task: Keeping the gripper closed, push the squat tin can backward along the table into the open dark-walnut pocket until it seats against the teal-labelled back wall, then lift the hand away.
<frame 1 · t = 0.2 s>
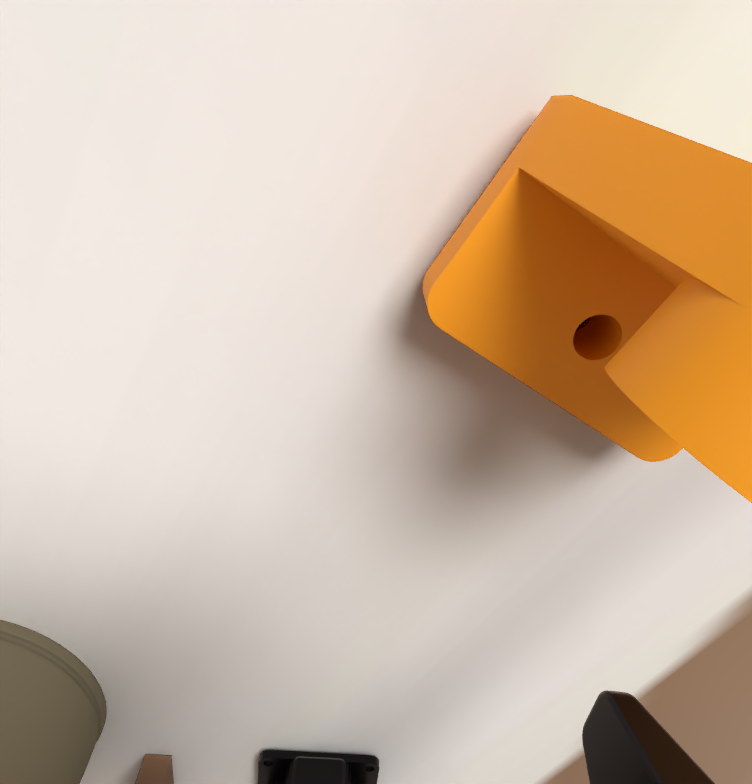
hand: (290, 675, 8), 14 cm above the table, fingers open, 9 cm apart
bracket: (590, 284, 21), on the table
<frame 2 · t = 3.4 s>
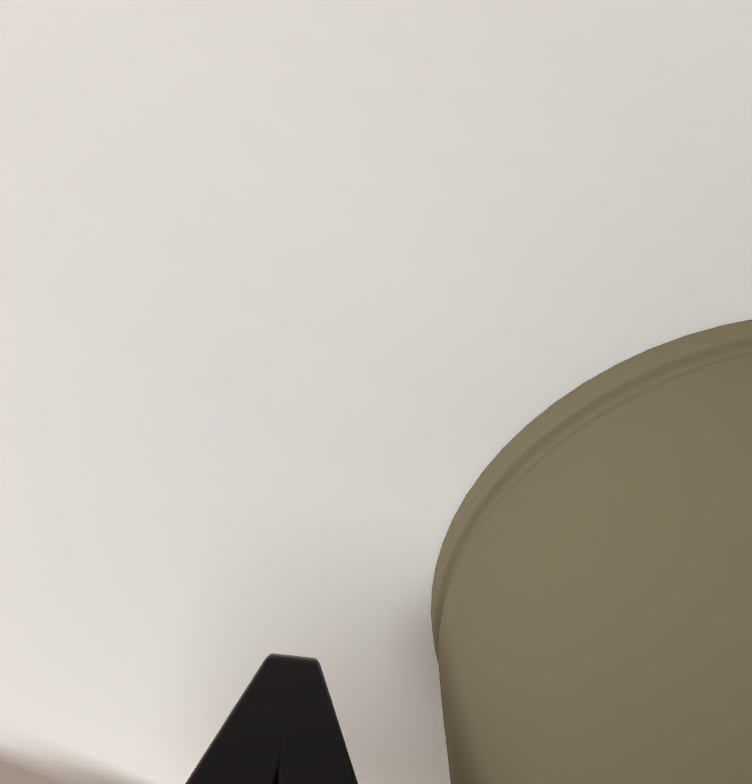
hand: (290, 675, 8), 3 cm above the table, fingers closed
can: (717, 584, 12), on the table, touching gripper
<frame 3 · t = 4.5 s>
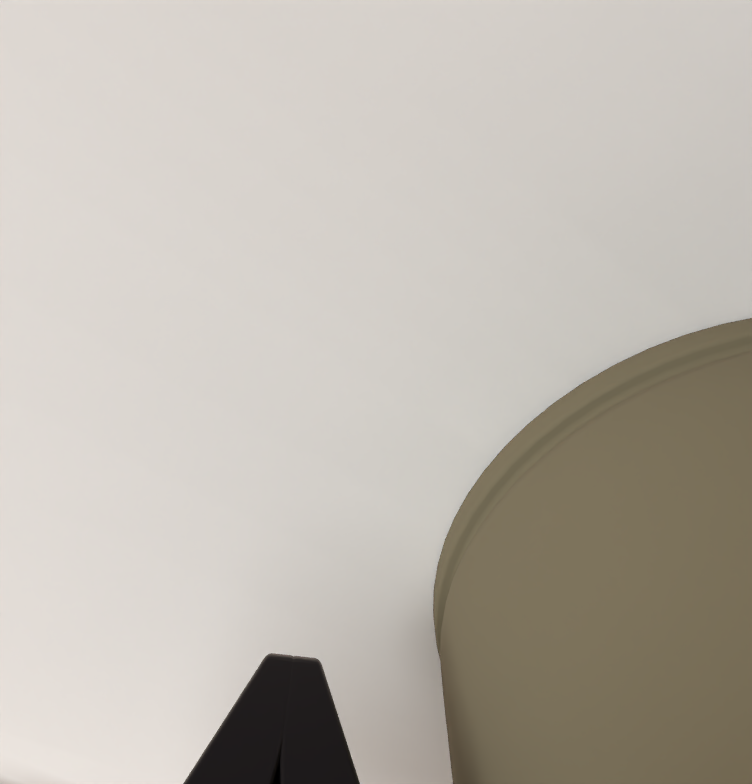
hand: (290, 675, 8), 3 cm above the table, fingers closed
can: (719, 582, 12), on the table, touching gripper
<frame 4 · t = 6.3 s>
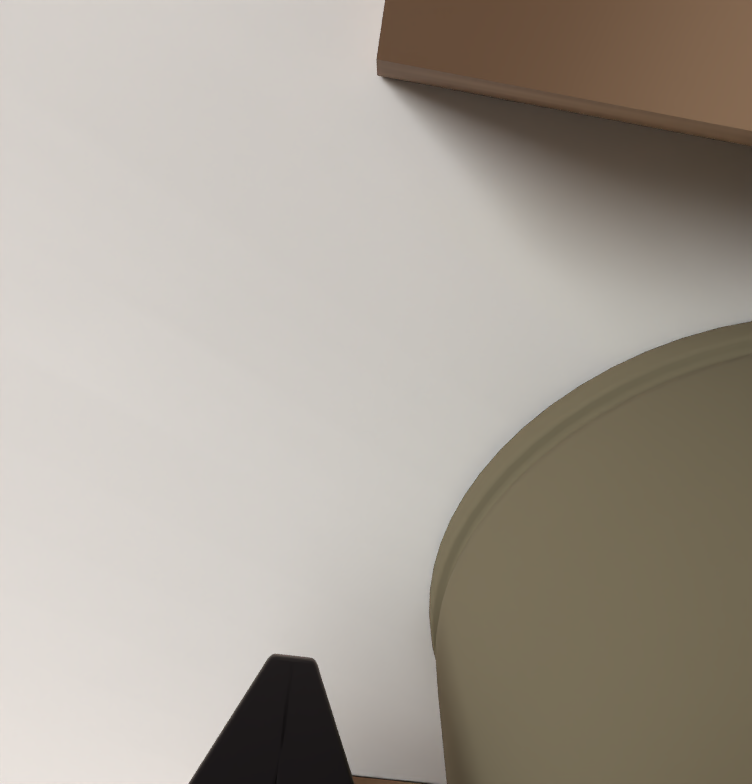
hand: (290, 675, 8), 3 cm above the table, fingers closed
can: (715, 585, 12), on the table, touching gripper, pocket
pocket: (667, 573, 11), on the table
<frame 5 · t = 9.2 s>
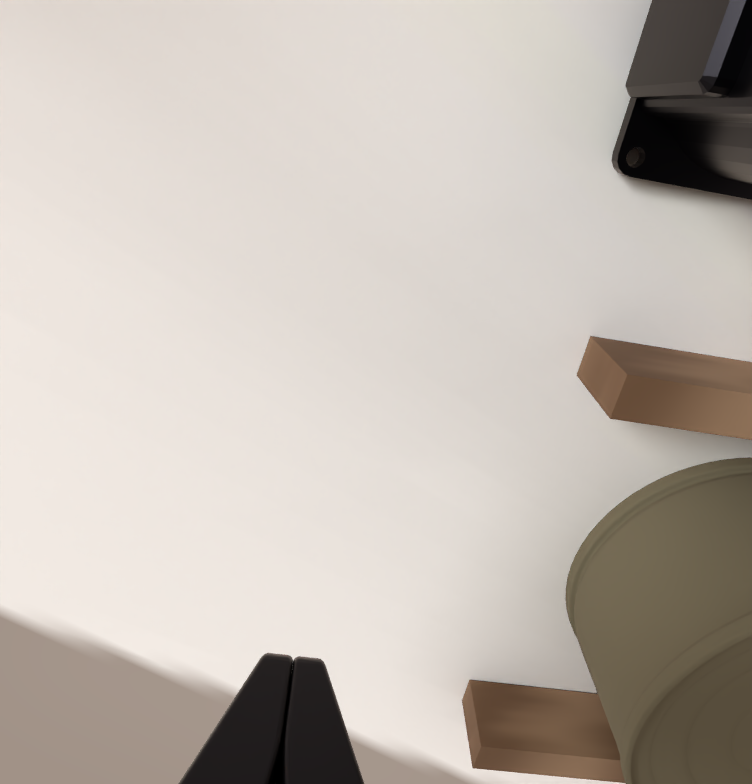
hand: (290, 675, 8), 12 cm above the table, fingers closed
can: (706, 574, 24), on the table
pocket: (685, 571, 23), on the table
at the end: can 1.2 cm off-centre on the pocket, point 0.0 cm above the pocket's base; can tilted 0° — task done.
